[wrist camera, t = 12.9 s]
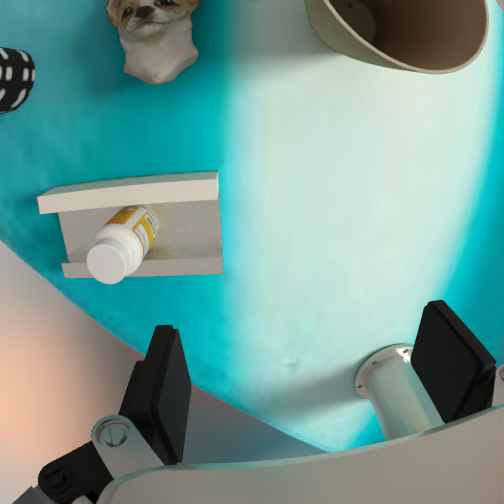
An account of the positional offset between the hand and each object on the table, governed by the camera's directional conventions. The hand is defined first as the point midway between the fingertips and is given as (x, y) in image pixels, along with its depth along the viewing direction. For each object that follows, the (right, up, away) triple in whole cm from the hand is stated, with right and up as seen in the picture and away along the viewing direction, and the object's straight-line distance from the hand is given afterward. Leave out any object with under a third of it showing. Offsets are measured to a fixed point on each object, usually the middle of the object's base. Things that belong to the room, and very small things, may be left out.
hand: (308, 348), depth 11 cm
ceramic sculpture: (-12, +27, +16) cm, 34 cm away
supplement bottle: (-15, +6, +24) cm, 29 cm away
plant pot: (+8, +29, +17) cm, 34 cm away
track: (-16, +7, +25) cm, 30 cm away
